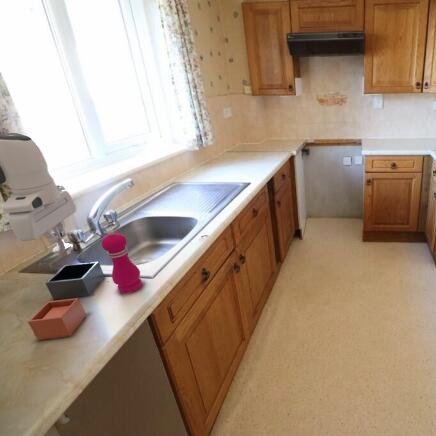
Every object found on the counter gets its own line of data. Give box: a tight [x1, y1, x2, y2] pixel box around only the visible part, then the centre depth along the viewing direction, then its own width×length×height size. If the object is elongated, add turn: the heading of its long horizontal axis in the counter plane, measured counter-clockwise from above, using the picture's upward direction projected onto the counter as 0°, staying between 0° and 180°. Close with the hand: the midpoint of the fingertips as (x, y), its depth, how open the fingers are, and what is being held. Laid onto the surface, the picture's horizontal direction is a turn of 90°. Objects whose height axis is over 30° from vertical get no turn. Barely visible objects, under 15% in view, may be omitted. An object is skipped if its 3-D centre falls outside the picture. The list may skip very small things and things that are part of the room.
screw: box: [51, 225, 74, 257], centre depth 92 cm, size 13×5×5 cm
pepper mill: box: [101, 228, 143, 294], centre depth 95 cm, size 7×7×20 cm
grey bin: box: [45, 261, 106, 301], centre depth 99 cm, size 10×10×6 cm
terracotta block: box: [42, 306, 69, 319], centre depth 83 cm, size 4×4×4 cm
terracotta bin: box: [27, 297, 87, 341], centre depth 83 cm, size 8×8×6 cm
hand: (58, 239), depth 93 cm, fingers closed on screw, 2 cm apart
